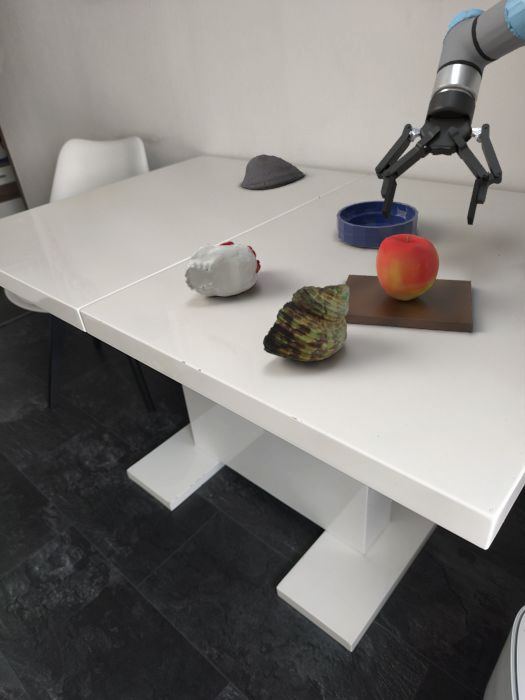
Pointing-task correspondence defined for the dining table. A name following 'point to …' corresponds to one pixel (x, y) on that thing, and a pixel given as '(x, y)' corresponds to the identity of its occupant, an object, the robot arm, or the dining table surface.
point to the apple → (406, 266)
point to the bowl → (374, 223)
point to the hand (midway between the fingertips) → (426, 218)
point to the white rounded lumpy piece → (222, 269)
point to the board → (411, 305)
